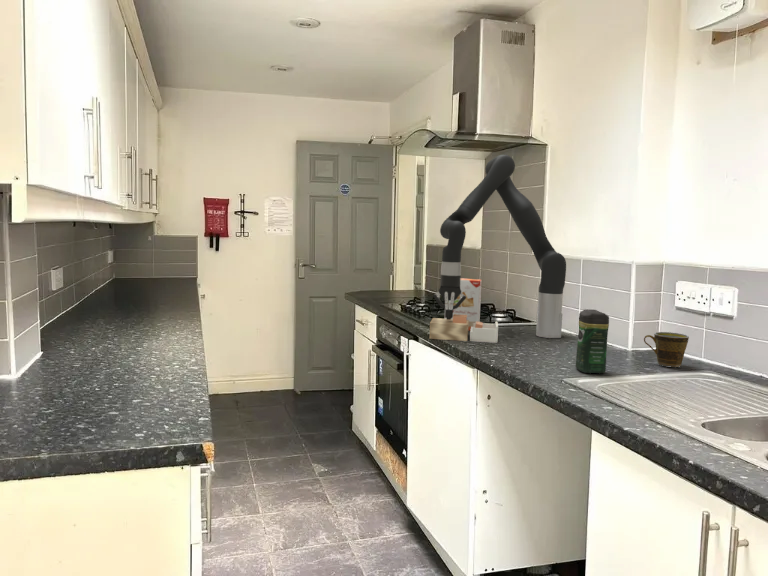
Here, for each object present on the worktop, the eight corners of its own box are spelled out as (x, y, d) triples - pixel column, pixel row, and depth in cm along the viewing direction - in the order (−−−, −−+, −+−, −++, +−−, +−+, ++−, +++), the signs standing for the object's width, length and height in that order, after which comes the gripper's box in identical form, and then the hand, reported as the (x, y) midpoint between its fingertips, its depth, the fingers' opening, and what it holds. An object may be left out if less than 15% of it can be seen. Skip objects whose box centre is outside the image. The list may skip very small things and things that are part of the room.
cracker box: (443, 329, 249) (445, 278, 247) (445, 326, 255) (447, 277, 253) (478, 331, 246) (480, 280, 243) (479, 329, 252) (481, 278, 249)
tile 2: (473, 333, 233) (480, 335, 233) (473, 336, 228) (480, 338, 228) (476, 321, 232) (482, 322, 232) (476, 323, 227) (482, 325, 227)
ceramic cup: (682, 363, 198) (685, 333, 197) (689, 370, 188) (692, 338, 187) (639, 360, 201) (642, 330, 200) (644, 366, 192) (646, 335, 190)
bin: (496, 336, 235) (497, 321, 235) (497, 342, 224) (498, 326, 223) (470, 335, 237) (471, 320, 236) (469, 341, 225) (470, 325, 225)
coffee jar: (609, 375, 179) (613, 312, 177) (582, 374, 179) (586, 312, 177) (597, 367, 189) (602, 308, 187) (572, 366, 189) (576, 307, 187)
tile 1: (466, 321, 233) (467, 314, 233) (466, 323, 228) (466, 316, 228) (453, 320, 234) (453, 314, 234) (452, 322, 229) (453, 316, 229)
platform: (468, 335, 237) (468, 320, 237) (467, 341, 225) (467, 324, 225) (432, 333, 239) (432, 318, 239) (429, 338, 228) (429, 322, 227)
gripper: (468, 274, 232) (466, 318, 234) (434, 272, 235) (432, 316, 236) (468, 275, 225) (465, 321, 227) (432, 273, 227) (430, 319, 229)
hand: (448, 319), depth 232 cm, fingers closed
